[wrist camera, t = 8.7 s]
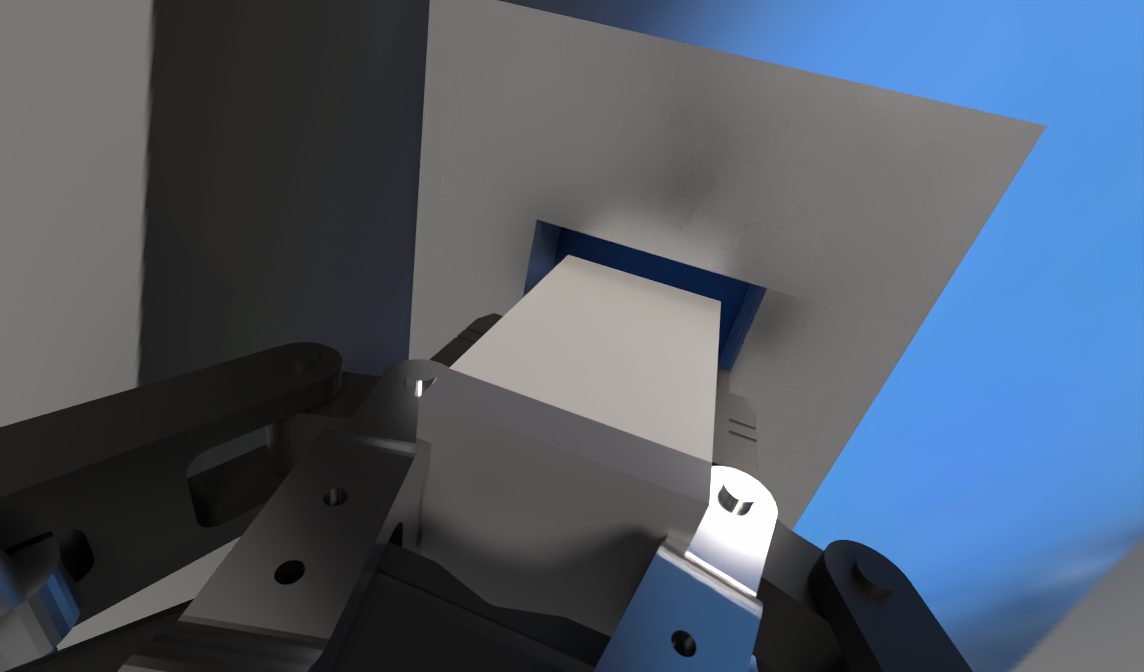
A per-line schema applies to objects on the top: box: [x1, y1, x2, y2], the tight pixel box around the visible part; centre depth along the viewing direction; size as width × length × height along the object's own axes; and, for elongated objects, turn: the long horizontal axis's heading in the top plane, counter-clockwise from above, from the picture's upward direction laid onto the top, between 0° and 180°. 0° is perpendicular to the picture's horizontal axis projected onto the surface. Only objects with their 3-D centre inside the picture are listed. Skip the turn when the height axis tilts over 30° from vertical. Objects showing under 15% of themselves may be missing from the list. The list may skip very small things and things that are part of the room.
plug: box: [416, 255, 721, 637], centre depth 10 cm, size 4×4×7 cm
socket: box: [409, 0, 1046, 531], centre depth 14 cm, size 14×12×3 cm
